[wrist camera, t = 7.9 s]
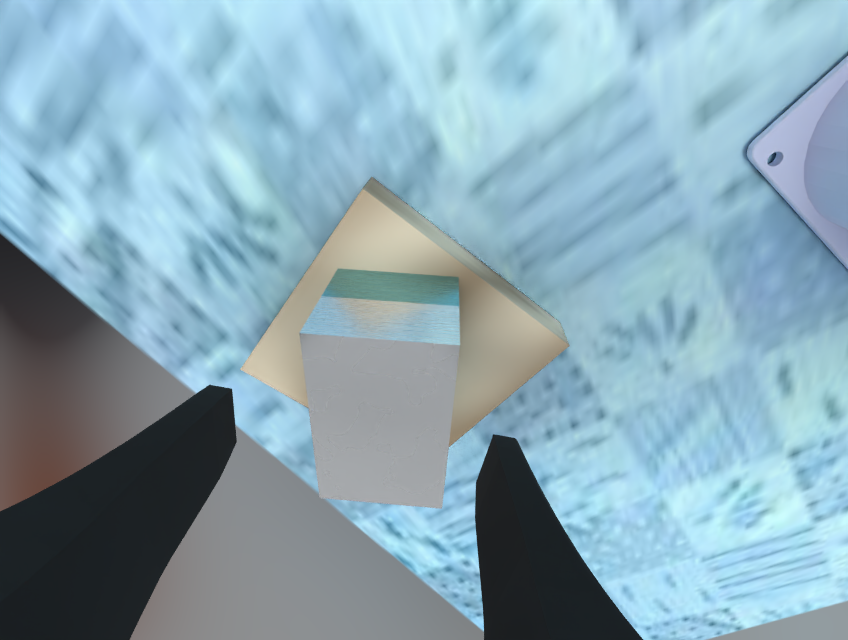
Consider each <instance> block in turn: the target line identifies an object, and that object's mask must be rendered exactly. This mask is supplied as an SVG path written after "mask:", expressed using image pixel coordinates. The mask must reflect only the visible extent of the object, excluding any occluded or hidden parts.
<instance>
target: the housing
mask: <svg viewBox="0 0 848 640" xmlns="http://www.w3.org/2000/svg"><path fill="white" fill-rule="evenodd" d="M299 334H300V343H301V351H302V359H303V367H304V375H305V383H306V391H307V399H308V407H309V415H310V423H311V431H312V439H313V447H314V455H315V463H316V471H317V479H318V487H319V496H320V498H327V499H338V500H350V501H361V502H373V503H384V504H396V505H407V506H419V507H430V508H442V503H443V494H444V485H445V476H446V466H447V457H448V448H449V439H450V430H451V421H452V412H453V403H454V394H455V385H456V376H457V367H458V358H459V349H460V324H459V277H453V276H439V275H424V274H410V273H396V272H382V271H367V270H353V269H339V268H338V269H337V271H336V272H335V274H334V276H333V277H332V279H331V281H330V282H329V284H328V286H327V288H326V289H325V291H324V293H323V294H322V296H321V298H320V299H319V301H318V303H317V304H316V306H315V308H314V309H313V311H312V313H311V314H310V316H309V318H308V319H307V321H306V323H305V324H304V326H303V328H302V330H301V331H300V333H299Z"/></svg>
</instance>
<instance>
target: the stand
mask: <svg viewBox="0 0 848 640" xmlns="http://www.w3.org/2000/svg"><path fill="white" fill-rule="evenodd" d="M338 268H339V269H353V270H367V271H382V272H396V273H410V274H424V275H439V276H453V277H459V324H460V349H459V358H458V367H457V376H456V385H455V394H454V403H453V412H452V421H451V430H450V439H449V447H450V446H451V445H452V444H453V443H454V442H456V441H457V440H458V439H459V438H460V437H462V436H463V435H464V434H465V433H466V432H467V431H469V430H470V429H471V428H472V427H473V426H475V425H476V424H477V423H478V422H479V421H481V420H482V419H483V418H484V417H485V416H486V415H488V414H489V413H490V412H491V411H492V410H494V409H495V408H496V407H497V406H498V405H500V404H501V403H502V402H503V401H504V400H506V399H507V398H508V397H509V396H510V395H511V394H513V393H514V392H515V391H516V390H517V389H519V388H520V387H521V386H522V385H523V384H525V383H526V382H527V381H528V380H529V379H531V378H532V377H533V376H534V375H535V374H536V373H538V372H539V371H540V370H541V369H542V368H544V367H545V366H546V365H547V364H548V363H550V362H551V361H552V360H553V359H554V358H555V357H557V356H558V355H559V354H560V353H561V352H563V351H564V350H565V349H566V348H567V347H569V346H570V345H569V343H568V341H567V338H566V336H565V333H564V331H563V329H562V326H561V324H560V322H559V321H557V320H556V319H555V318H554V317H552V316H551V315H550V314H548V313H547V312H546V311H545V310H543V309H542V308H541V307H539V306H538V305H537V304H536V303H534V302H533V301H532V300H530V299H529V298H528V297H526V296H525V295H524V294H523V293H521V292H520V291H519V290H517V289H516V288H515V287H514V286H512V285H511V284H510V283H508V282H507V281H506V280H504V279H503V278H502V277H501V276H499V275H498V274H497V273H495V272H494V271H493V270H492V269H490V268H489V267H488V266H486V265H485V264H484V263H482V262H481V261H480V260H479V259H477V258H476V257H475V256H473V255H472V254H471V253H470V252H468V251H467V250H466V249H464V248H463V247H462V246H461V245H459V244H458V243H457V242H455V241H454V240H453V239H451V238H450V237H449V236H448V235H446V234H445V233H444V232H442V231H441V230H440V229H439V228H437V227H436V226H435V225H433V224H432V223H431V222H429V221H428V220H427V219H426V218H424V217H423V216H422V215H420V214H419V213H418V212H417V211H415V210H414V209H413V208H411V207H410V206H409V205H408V204H406V203H405V202H404V201H402V200H401V199H400V198H398V197H397V196H396V195H395V194H393V193H392V192H391V191H389V190H388V189H387V188H386V187H384V186H383V185H382V184H380V183H379V182H378V181H376V180H375V179H374V178H373V177H371V179H370V180H369V181H368V182H367V184H366V185H365V186H364V187H363V189H362V190H361V192H360V193H359V195H358V196H357V198H356V199H355V201H354V202H353V204H352V205H351V207H350V208H349V209H348V211H347V212H346V214H345V215H344V217H343V218H342V220H341V221H340V223H339V224H338V226H337V227H336V229H335V230H334V232H333V233H332V235H331V236H330V238H329V239H328V241H327V242H326V243H325V245H324V246H323V248H322V249H321V251H320V252H319V254H318V255H317V257H316V258H315V260H314V261H313V263H312V264H311V266H310V267H309V269H308V270H307V272H306V273H305V275H304V276H303V277H302V279H301V280H300V282H299V283H298V285H297V286H296V288H295V289H294V291H293V292H292V294H291V295H290V297H289V298H288V300H287V301H286V303H285V304H284V306H283V307H282V309H281V310H280V311H279V313H278V314H277V316H276V317H275V319H274V320H273V322H272V323H271V325H270V326H269V328H268V329H267V331H266V332H265V334H264V335H263V337H262V338H261V340H260V341H259V343H258V344H257V345H256V347H255V348H254V350H253V351H252V353H251V354H250V356H249V357H248V359H247V360H246V362H245V363H244V365H243V366H242V368H241V369H240V370H242V371H244V372H246V373H248V374H249V375H251V376H253V377H255V378H256V379H258V380H260V381H262V382H263V383H265V384H267V385H269V386H270V387H272V388H274V389H276V390H277V391H279V392H281V393H283V394H284V395H286V396H288V397H290V398H292V399H293V400H295V401H297V402H299V403H300V404H302V405H304V406H306V407H307V408H309V407H308V399H307V391H306V383H305V375H304V367H303V359H302V351H301V343H300V334H299V333H300V331H301V330H302V328H303V326H304V324H305V323H306V321H307V319H308V318H309V316H310V314H311V313H312V311H313V309H314V308H315V306H316V304H317V303H318V301H319V299H320V298H321V296H322V294H323V293H324V291H325V289H326V288H327V286H328V284H329V282H330V281H331V279H332V277H333V276H334V274H335V272H336V271H337V269H338Z"/></svg>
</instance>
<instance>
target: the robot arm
mask: <svg viewBox="0 0 848 640" xmlns="http://www.w3.org/2000/svg"><path fill="white" fill-rule="evenodd" d="M774 152H776V158H775V159H774V161H773V162H771V163H770V164H768V163H767V161H768V158H769V156H770V155H771V154H773V153H774ZM747 157H748V159H749V160H750V162H751V163H752V164H753V165H754V166H755V167H756V168H757V169H758V170H759V172H760V173H761V174H762V175H763V176H764V177H765V178H766V179H767V180H768V182H769V183H770V184H771V185H772V186H773V187H774V188H775V189H776V190H777V191H778V193H779V194H780V195H781V196H782V197H783V198H784V199H785V200H786V201H787V203H788V204H789V205H790V206H791V207H792V208H793V209H794V210H795V211H796V213H797V214H798V215H799V216H800V217H801V218H802V219H803V220H804V221H805V223H806V224H807V225H808V226H809V227H810V228H811V229H812V230H813V231H814V232H815V234H816V235H817V236H818V237H819V238H820V239H821V240H822V241H823V242H824V244H825V245H826V246H827V247H828V248H829V249H830V250H831V251H832V252H833V254H834V255H835V256H836V257H837V258H838V259H839V260H840V261H841V262H842V263H843V265H844V266H845V267H846V268H847V269H848V56H847V57H846V58H845V59H843V60H842V61H841V62H840V63H839V64H838V65H837V66H836V67H834V68H833V69H832V70H831V71H830V72H829V73H828V74H827V75H826V76H824V77H823V78H822V79H821V80H820V81H819V82H818V83H817V84H816V85H814V86H813V87H812V88H811V89H810V90H809V91H808V92H807V93H805V94H804V95H803V96H802V97H801V98H800V99H799V100H798V101H797V102H795V103H794V104H793V105H792V106H791V107H790V108H789V109H788V110H787V111H785V112H784V113H783V114H782V115H781V116H780V117H779V118H778V119H776V120H775V121H774V122H773V123H772V124H771V125H770V126H769V127H768V128H766V129H765V130H764V131H763V132H762V133H761V134H760V135H759V136H758V137H756V138H755V139H754V140H753V141H752V143H751V144H750V145H749V147H748V150H747ZM235 444H236V430H235V418H234V406H233V395H232V389H230V388H224V387H219V386H213V385H209V386H207V387H206V388H204V389H203V390H201V391H200V392H198V393H197V394H195V395H194V396H192V397H191V398H190V399H188V400H187V401H185V402H184V403H182V404H181V405H180V406H178V407H177V408H175V409H174V410H173V411H171V412H170V413H168V414H167V415H165V416H164V417H162V418H161V419H159V420H158V421H156V422H155V423H154V424H152V425H150V426H149V427H147V428H146V429H144V430H143V431H142V432H140V433H139V434H137V435H136V436H134V437H133V438H131V439H130V440H128V441H126V442H125V443H123V444H122V445H120V446H119V447H117V448H115V449H114V450H112V451H110V452H109V453H107V454H106V455H104V456H102V457H101V458H99V459H97V460H96V461H94V462H93V463H91V464H90V465H88V466H86V467H84V468H83V469H81V470H79V471H77V472H76V473H74V474H72V475H70V476H69V477H67V478H65V479H63V480H61V481H60V482H58V483H56V484H54V485H52V486H50V487H48V488H46V489H45V490H43V491H41V492H39V493H37V494H35V495H33V496H31V497H29V498H27V499H25V500H23V501H21V502H19V503H17V504H15V505H13V506H11V507H9V508H7V509H5V510H2V511H0V640H130V637H131V635H132V633H133V631H134V629H135V627H136V625H137V623H138V621H139V619H140V616H141V614H142V612H143V611H144V609H145V607H146V605H147V603H148V601H149V599H150V597H151V595H152V593H153V591H154V589H155V586H156V584H157V583H158V581H159V578H160V577H161V575H162V573H163V571H164V569H165V568H166V566H167V564H168V562H169V561H170V559H171V557H172V555H173V554H174V552H175V551H176V549H177V547H178V546H179V544H180V543H181V541H182V539H183V538H184V536H185V534H186V533H187V531H188V529H189V528H190V526H191V525H192V523H193V521H194V520H195V518H196V517H197V515H198V513H199V512H200V510H201V508H202V507H203V505H204V503H205V502H206V500H207V499H208V497H209V495H210V494H211V492H212V490H213V489H214V487H215V485H216V484H217V482H218V480H219V479H220V477H221V474H222V473H223V471H224V469H225V466H226V464H227V462H228V460H229V458H230V456H231V453H232V451H233V448H234V446H235ZM475 522H476V535H477V546H478V557H479V568H480V580H481V591H482V602H483V616H484V640H643V639H642V638H641V637H640V635H639V634H638V633H637V632H636V630H635V629H634V628H633V627H632V626H631V624H630V623H629V622H628V621H627V619H626V618H625V617H624V616H623V615H622V613H621V612H620V611H619V609H618V608H617V607H616V605H615V604H614V603H613V601H612V600H611V599H610V597H609V596H608V595H607V593H606V592H605V591H604V589H603V588H602V586H601V585H600V584H599V582H598V581H597V579H596V578H595V576H594V575H593V574H592V572H591V571H590V569H589V568H588V566H587V565H586V563H585V562H584V560H583V559H582V557H581V556H580V554H579V553H578V551H577V550H576V548H575V546H574V545H573V543H572V542H571V540H570V538H569V537H568V535H567V534H566V532H565V530H564V529H563V527H562V525H561V524H560V522H559V520H558V518H557V517H556V515H555V513H554V511H553V510H552V508H551V506H550V504H549V502H548V501H547V499H546V497H545V495H544V493H543V492H542V490H541V488H540V486H539V484H538V482H537V480H536V478H535V476H534V474H533V472H532V470H531V468H530V466H529V464H528V462H527V460H526V458H525V456H524V454H523V452H522V450H521V447H520V445H519V443H518V441H517V440H516V439H515V438H511V437H505V436H500V435H493V437H492V440H491V443H490V446H489V448H488V451H487V454H486V457H485V459H484V462H483V465H482V468H481V471H480V473H479V476H478V479H477V482H476V505H475Z"/></svg>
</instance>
